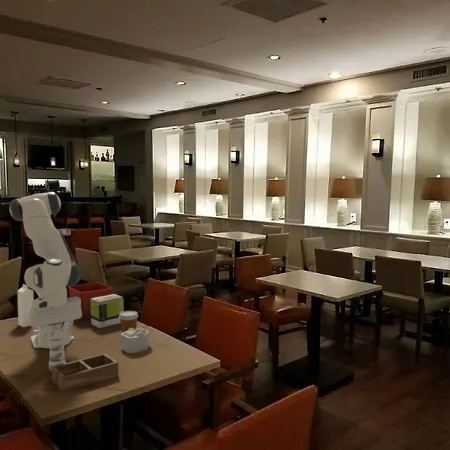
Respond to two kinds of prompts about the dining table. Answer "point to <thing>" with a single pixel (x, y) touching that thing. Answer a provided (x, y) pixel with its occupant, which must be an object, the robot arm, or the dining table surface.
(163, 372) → the dining table surface
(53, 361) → the metal bottle
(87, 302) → the plant pot
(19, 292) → the milk
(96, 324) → the tea box
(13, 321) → the dining table surface
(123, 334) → the lumpy-topped squat cylinder
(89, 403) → the dining table surface
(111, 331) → the dining table surface
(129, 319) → the disposable coffee cup
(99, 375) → the bottle carrier
